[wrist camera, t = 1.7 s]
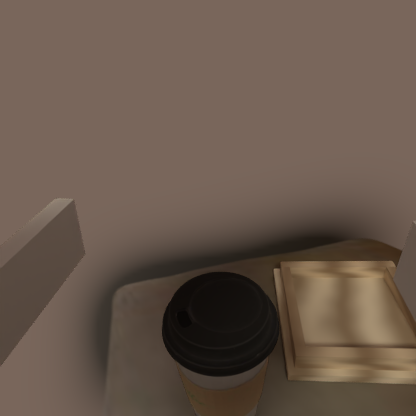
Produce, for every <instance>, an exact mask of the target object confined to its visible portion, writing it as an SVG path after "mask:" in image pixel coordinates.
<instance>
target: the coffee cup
mask: <svg viewBox="0 0 416 416" xmlns="http://www.w3.org/2000/svg"><path fill="white" fill-rule="evenodd" d="M278 335H279V321H278V317H277V312H276V309H275V307H274V305H273V303H272V301H271V300H270V298H269V297H268V296H267V295H266V294H265V293H264V291H263V290H262V289H261V287H260V286H259V285H258V284H256V283H255V282H254V281H252V280H251V279H249V278H247V277H245V276H242V275H239V274H235V273H230V272H212V273H206V274H203V275H200V276H197V277H195V278H193V279H191V280H189V281H187V282H186V283H185V284H183V285H182V286H181V287H180V288H179V289H178V290H177V291H176V293H175V294H174V296H173V298H172V300H171V301H170V302H169V304H168V306H167V308H166V310H165V313H164V316H163V325H162V336H163V341H164V344H165V347H166V349H167V350H168V352H169V354H170V355H171V356H172V357H173V359H174V360H175V362H176V365H177V368H178V371H179V373H180V376H181V379H182V382H183V385H184V388H185V390H186V393H187V396H188V399H189V401H190V403H191V405H192V406H193V408H194V411H195V414H196V416H255V415H256V411H257V406H258V402H259V399H260V397H261V394H262V389H263V384H264V379H265V374H266V369H267V364H268V358H269V354H270V353H271V352H272V350H273V349H274V347H275V345H276V342H277V339H278Z"/></svg>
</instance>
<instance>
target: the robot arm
mask: <svg viewBox="0 0 416 416" xmlns="http://www.w3.org/2000/svg"><path fill="white" fill-rule="evenodd" d="M84 255H85V250H84V245H83V240H82V236H81V231H80V226H79V221H78V217H77V211H76V207H75V202H74V199H63V198H56V199H55V200H54V201H52V202H51V203H50V204H49V205H48V206H47V207H45V208H44V209H43V210H42V211H41V212H39V213H38V214H37V215H36V216H35V217H34V218H32V219H31V220H30V221H29V222H28V223H27V224H26V225H24V226H23V227H22V228H21V229H20V230H18V231H17V232H16V233H15V234H14V235H13V236H12V237H10V238H9V239H8V240H7V241H6V242H4V243H3V244H2V245H1V246H0V366H1V365H2V364H3V362H4V361H5V360H6V358H7V357H8V356H9V354H10V353H11V352H12V350H13V349H14V348H15V346H16V345H17V344H18V342H19V341H20V340H21V339H22V337H23V336H24V334H25V333H26V332H27V331H28V329H29V328H30V327H31V325H32V324H33V323H34V321H35V320H36V319H37V317H38V316H39V315H40V313H41V312H42V310H43V309H44V308H45V307H46V305H47V304H48V303H49V301H50V300H51V299H52V297H53V296H54V295H55V293H56V292H57V291H58V290H59V288H60V287H61V286H62V284H63V283H64V281H65V280H66V279H67V277H68V276H69V275H70V273H71V272H72V271H73V270H74V268H75V267H76V266H77V264H78V263H79V261H80V260H81V259H82V258H83V256H84ZM393 281H394V282H395V284H396V286H397V288H398V290H399V292H400V294H401V295H402V297H403V299H404V301H405V303H406V305H407V307H408V309H409V310H410V312H411V314H412V316H413V318H414V320H415V322H416V221H413V222H412V225H411V228H410V231H409V234H408V237H407V240H406V243H405V246H404V249H403V252H402V254H401V257H400V260H399V263H398V266H397V269H396V272H395V275H394V278H393Z"/></svg>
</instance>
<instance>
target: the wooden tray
mask: <svg viewBox="0 0 416 416" xmlns="http://www.w3.org/2000/svg"><path fill="white" fill-rule="evenodd" d="M396 269H397V268H396V267H395V265H394V263H393V262H392V261H300V262H280V269H274V281H275V288H276V296H277V303H278V311H279V318H280V326H281V333H282V341H283V348H284V356H285V363H286V371H287V378H288V380H297V381H329V382H362V383H394V384H416V322H415V320H414V318H413V316H412V314H411V312H410V310H409V309H408V307H407V305H406V303H405V301H404V299H403V297H402V295H401V294H400V292H399V290H398V288H397V286H396V284H395V282H394V281H393V278H394V275H395V272H396Z"/></svg>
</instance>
